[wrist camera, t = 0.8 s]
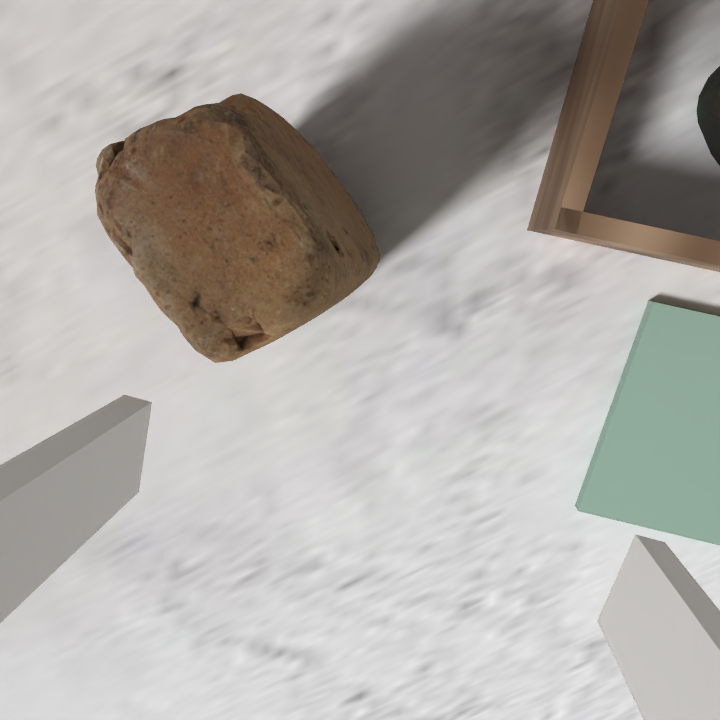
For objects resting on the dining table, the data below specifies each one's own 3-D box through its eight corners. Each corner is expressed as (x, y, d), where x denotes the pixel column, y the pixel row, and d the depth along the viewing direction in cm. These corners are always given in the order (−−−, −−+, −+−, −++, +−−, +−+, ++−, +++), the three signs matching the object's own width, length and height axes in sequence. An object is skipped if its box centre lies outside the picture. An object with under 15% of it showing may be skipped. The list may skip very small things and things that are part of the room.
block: (393, 263, 36) (369, 298, 17) (305, 317, 38) (193, 405, 19) (310, 123, 35) (180, -12, 16) (222, 186, 36) (5, 134, 17)
